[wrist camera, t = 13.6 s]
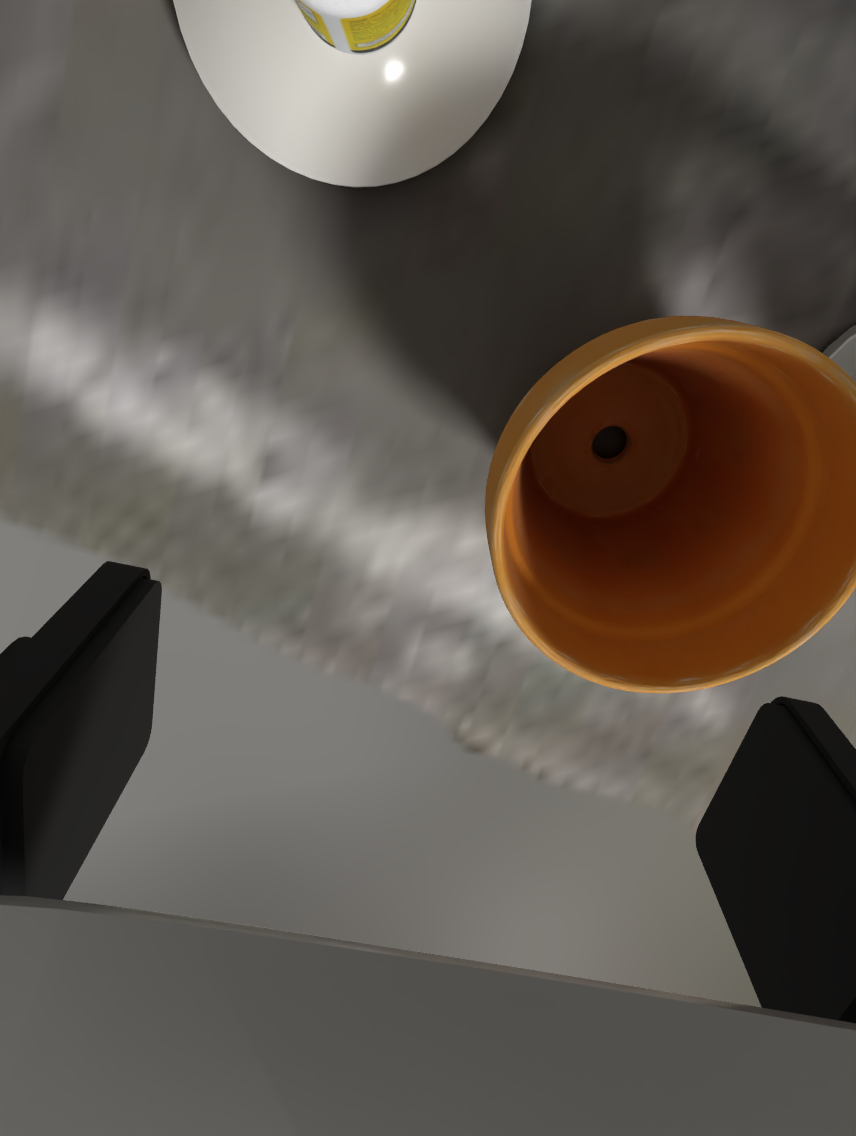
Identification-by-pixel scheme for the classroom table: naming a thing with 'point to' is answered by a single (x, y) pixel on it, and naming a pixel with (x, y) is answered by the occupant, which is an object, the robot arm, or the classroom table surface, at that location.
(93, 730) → the robot arm
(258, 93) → the dish
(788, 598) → the flower pot
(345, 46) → the supplement bottle
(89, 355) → the classroom table surface
